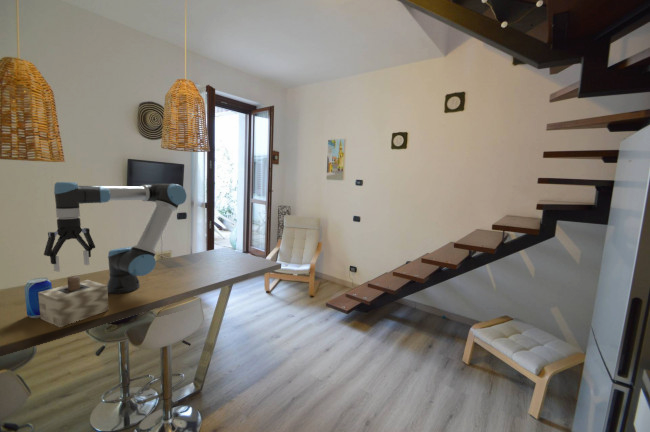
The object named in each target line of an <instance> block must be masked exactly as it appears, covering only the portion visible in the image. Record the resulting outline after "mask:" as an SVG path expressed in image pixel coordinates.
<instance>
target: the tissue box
mask: <svg viewBox="0 0 650 432" xmlns="http://www.w3.org/2000/svg"><path fill="white" fill-rule="evenodd" d="M38 295H39V306H40V317H39V318H40V320H43V321H45V322H47V323H49V324H51V325H53V324H54V326H55V327H59V328H60V327H61V328H63V327H65V325H66V326H68V324H69V325H72V324H74V323H77V322H79V320H80V321H82V320H85V319H88V318H91V317H93V316H96V315H98V314H101V313H104V312H107V311H109V309H110V308H109V307H110V306H109V296H108V295H109V293H108V290H107V284H103V283H100V282H97V281H92V280H90V279H86V280H80V289H79V290H75V291H72V292H69V291H68V284H66V285H65V284H64V285H61V286H58V287H52V289H49V290H45V291H41V292H38ZM76 321H77V322H76ZM71 323H72V324H71Z"/></svg>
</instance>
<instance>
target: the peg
mask: <svg viewBox="0 0 650 432" xmlns="http://www.w3.org/2000/svg"><path fill="white" fill-rule="evenodd" d="M80 281H81V280H80V275H71V276H69V277H67V285H68V291H69V292H72V291H75V290H79V289H80Z"/></svg>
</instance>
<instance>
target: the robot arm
mask: <svg viewBox="0 0 650 432" xmlns="http://www.w3.org/2000/svg"><path fill="white" fill-rule="evenodd" d="M53 194H54V200H55V213H56V215H55V216H56V218H57V219H56V226H57V230H56V231H48V232H47V236H48V237H47V241H46V246H45V248H44V252H43V255H44V256H46V257H49V259H50V264H51V265H53V271H55V272H60V271H61V269H60V268H61V267H60V257H59V256H58V254H59V252H60V250H61V248H62V246H63V245H64V243H65V242H67V241H68V240H74V239H75V240H76V241H77V242H78V243H79V244H80V245H81V246H82V247H83V249H84V250H82V253H83V265H85V266H89V265H90V258H91V257H92V254H91V252H92V250H93V249H95V248H96V245H95V242H94V240H93V238H92V236H91V233H90V228H87V227H83V228H82V227H81V225H82V223H81V218H80V217H81V213H80V211H81V210H80V204H81V205H82V204H103V203H104V204H105V203H108V202H109V201H135V200H137V201H138V200H139V201H142V202H153V203H155V204H156V207H155V209H154V210H153V212H152V214H151V217H150V218H149V220H148V223H147V224H146V226H145V228H144V230H143V232H142V234H141V236H140V238H139V240H138V241H137V244H135V245H133V246H128V247H127V246H126V247H119V248H113V249H110V250H109V251H108V256H107V258H108V269H109V271H108V273H109V278H108V282H107V284H106V285H107V290H108V294H112V295H114V294H118V295H119V294H125V293H129V292H133V291H135V290H137V289H139V288H140V286H141V285H140V281H139V278H138V277H142V276H146V275H148V274H150V273H151V272H152V271H153V270H154V269H155V268H156V264H157V263H156V258H155V256H156V255H157V254H156V252H155V250H156V247H157V245H158V243H159V241H160V238H161V236H162V235H163V233H164V231H165V228H166V227H167V224H168V222H169V220H170V217H171V215H172V213H173V212H174V211H177V210H178V207H179V205H182V204H185V202H186V200H187V197H188V195H187V192H186V189H185V188H184V186H182V185H180V184H177V183H155V184H154V183H153V184H141V185H139V186H137V185H136V186H134V185H133V186H132V185H131V186H130V185H129V186H128V185H127V186H125V185H124V186H122V185H120V186H118V185H78V182H74V181H71V182H70V181H66V182H65V181H57V182H55V183H54V189H53ZM81 233H83V235H84V238H85V240H86V241H85V240H84V238H83V237H82V236H81V235H80V234H81ZM57 235H58V239H57V242H56V243H55V241H56V237H57Z"/></svg>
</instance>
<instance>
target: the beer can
mask: <svg viewBox="0 0 650 432" xmlns="http://www.w3.org/2000/svg"><path fill="white" fill-rule="evenodd" d="M23 289H24V297H25V299H24V300H25V308H26V315H27V316H28V317H29V318H31V319H39V318H41V317H40V306H39V295H38V292H41V291H45V290H49V289H53V286H52V282H51V281H50V280H49V278H48V277H35V278H33V279H29V280H27V281H26V284H25V286H24V287H23Z"/></svg>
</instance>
